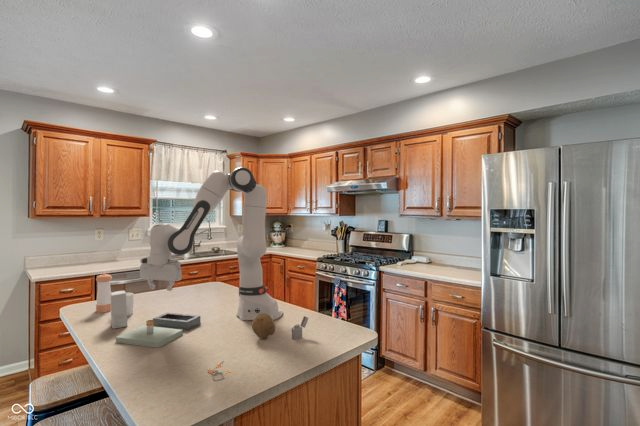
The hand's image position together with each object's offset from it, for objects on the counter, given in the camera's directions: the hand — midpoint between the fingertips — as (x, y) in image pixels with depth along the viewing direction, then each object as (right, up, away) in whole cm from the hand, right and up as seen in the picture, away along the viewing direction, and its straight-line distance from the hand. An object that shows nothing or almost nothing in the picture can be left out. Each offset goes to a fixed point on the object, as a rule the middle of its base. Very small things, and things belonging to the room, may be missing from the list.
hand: (161, 289), depth 156 cm
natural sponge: (+49, -16, -18) cm, 55 cm away
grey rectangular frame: (+8, -15, -2) cm, 17 cm away
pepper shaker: (-39, -15, +21) cm, 46 cm away
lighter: (+64, -16, -17) cm, 68 cm away
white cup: (-24, -16, +13) cm, 32 cm away
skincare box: (-18, -16, -2) cm, 24 cm away
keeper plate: (+4, -16, -17) cm, 24 cm away
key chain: (+39, -17, -45) cm, 62 cm away
